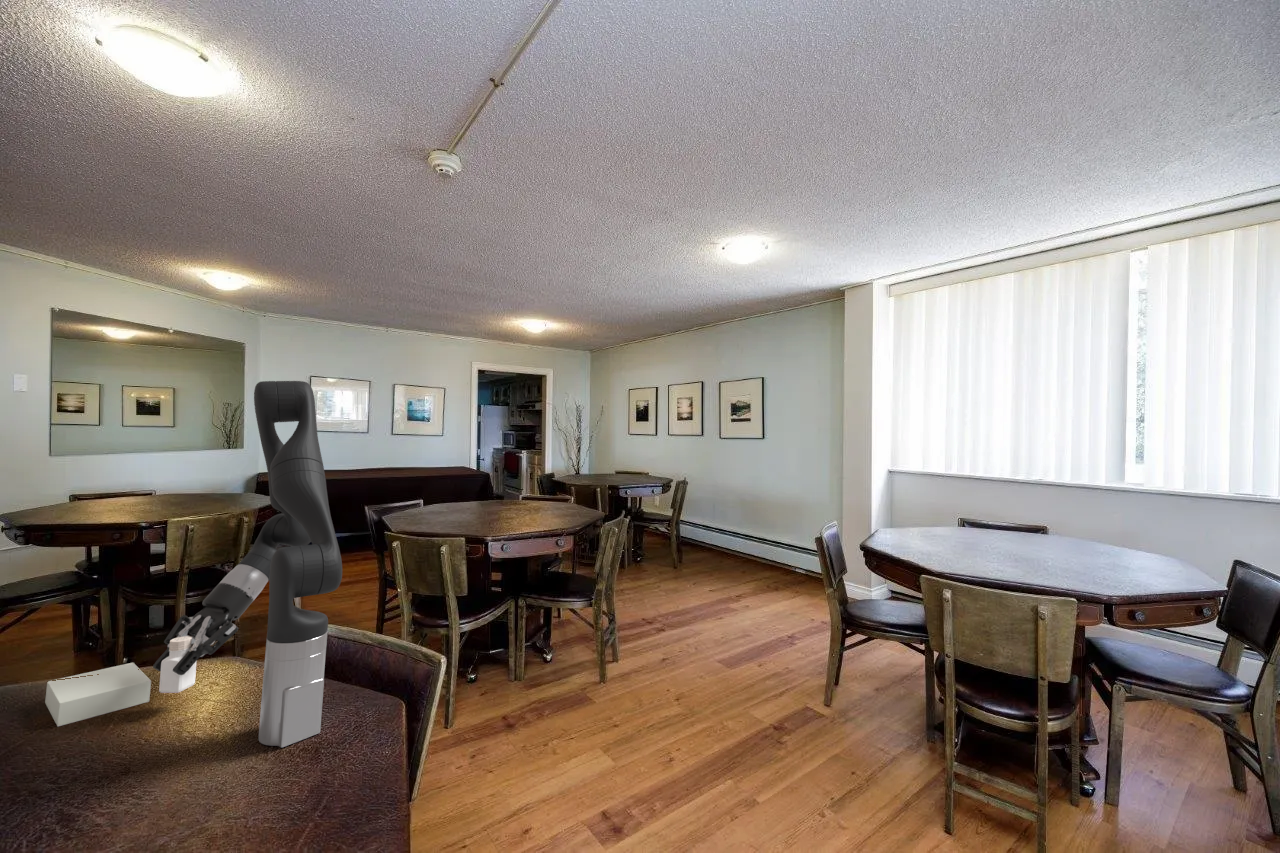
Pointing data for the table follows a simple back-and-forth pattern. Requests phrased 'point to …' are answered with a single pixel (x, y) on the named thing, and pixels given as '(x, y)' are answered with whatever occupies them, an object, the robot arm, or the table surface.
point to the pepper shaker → (168, 678)
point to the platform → (96, 693)
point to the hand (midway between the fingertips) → (167, 671)
